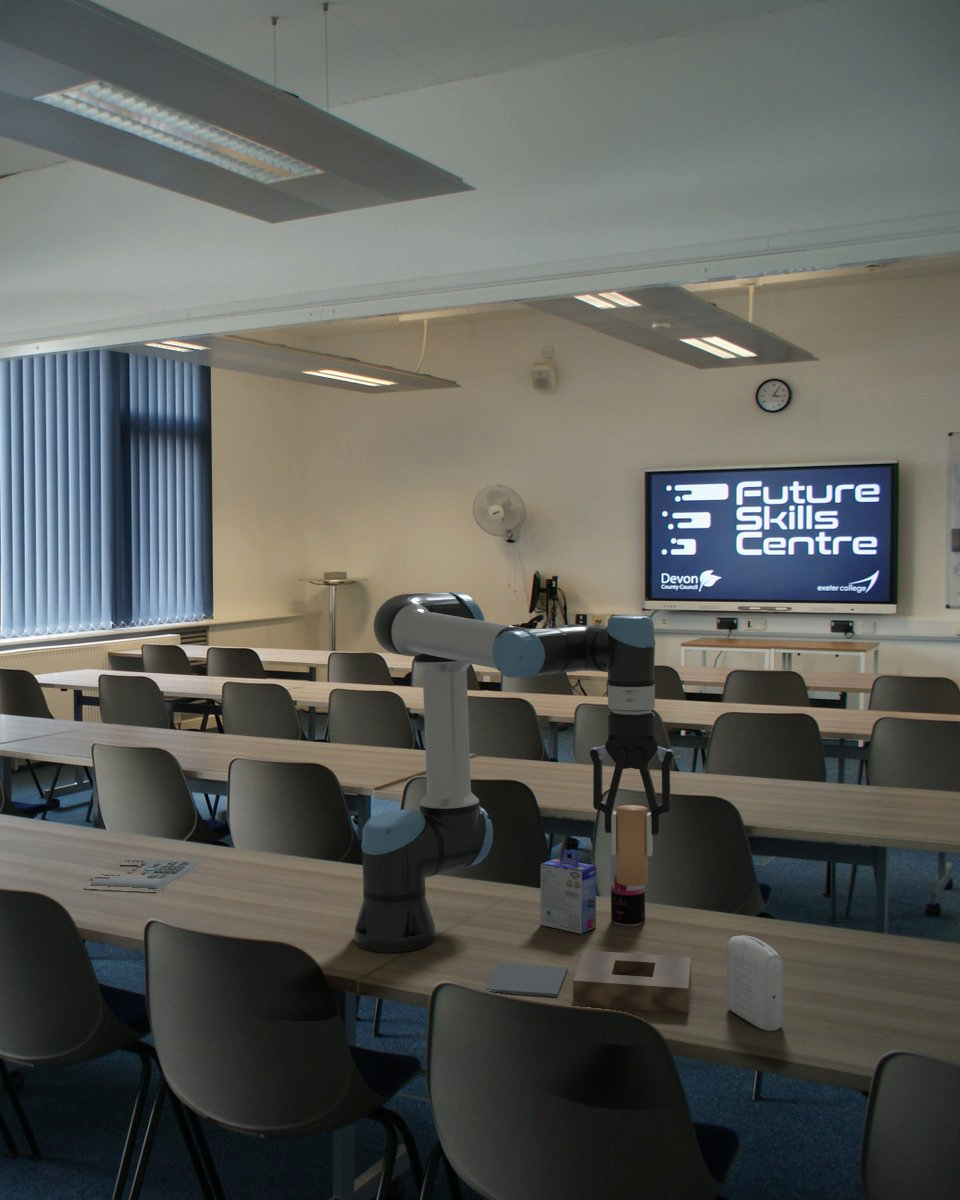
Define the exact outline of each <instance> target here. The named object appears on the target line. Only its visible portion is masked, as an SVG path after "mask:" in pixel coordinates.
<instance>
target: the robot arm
mask: <svg viewBox="0 0 960 1200" xmlns="http://www.w3.org/2000/svg"><path fill="white" fill-rule="evenodd" d="M654 625H655V624H654V621H653V619H652V618H651V617H649V616H647V615H637V614H636V615H631V614H630V615H623V614H622V615H613V616H610V617H609V618H608V620H607V626H596V625H583V624H579V623H577V624H565V625H561V626H559V627H548V628H528V627H527V628H526V627H520V626H513V625H510V624H502V623H496V622H491V621H486V620H485V617H484V614H483V611H482V609H481V606H480V605H479V604H478V603H476V600H475V599H474V598H473V597H471V595H468V594H466V593H463V592H454V591H453V592H451V591H445V592H444V591H443V592H429V593H428V592H426V593H425V592H424V593H402V594H398V595H395V596H393V597H391V598H389V599H386V601H385V602H383V603H382V604H381V605H380V607H379V608H378V609H377V611H376V614H375V616H374V620H373V632H374V636H375V638H376V641H377V642H378V643H379V645H380V646H381V647H382V648H383V649H384V650H386V651H387V652H388V653H391V654H394V655H400V656H406V657H413V659H414V661H413V662H414V664H415V665H416V666H417V667H418V668H420V670H421V672H422V684H423V685H422V687H423V688H422V689H423V691H422V693H423V713H424V715H423V718H424V719H423V720H424V741H425V743H424V745H425V747H424V748H425V768H426V769H425V770H426V771H425V772H426V773H425V774H426V794H425V795H424V796H423V798H422V799H421V800H420V801H419V810H416V809H410V808H409V809H407V808H403V809H398V810H395V809H393V810H388V811H384V812H381V813H378V814H376V815H374V816H372V817H370V818H368V819H367V821H365V823H364V825H363V828H362V838H361V839H362V840H361V847H360V848H361V850H362V889H363V891H362V893H363V895H362V896H363V897H362V899H363V900H362V904H361V906H360V910H359V913H358V915H357V920H356V923H355V926H354V942H355V944H356V946H358V947H360V948H361V949H364V950H367V951H372V952H376V953H377V952H378V953H403V952H409V951H410V952H411V951H416V950H419V949H423V948H425V947H427V946H430V945H431V944H432V943H434V941H435V940H436V924H435V921H434V918H433V916H432V912H431V909H430V908H429V907H430V906H429V904H428V900H427V898H426V879H427V878H430V877H435V876H437V875H442V874H446V873H451V872H455V871H462V870H466V869H468V868H469V867H472V866H473V867H474V866H476V865H478V864H479V863H482V862H483V860H484V859H485V858H486V857H487V856H488V854H489V853H490V850H491V849H492V844H493V837H494V835H493V833H494V830H493V824H492V821H491V819H489V814H488V813H487V811H486V810H485V809H484V808H483V807H481V806H480V799H479V798H478V797H477V796H476V795H475V794H474V793H473V792H472V783H471V781H472V780H471V757H470V755H471V753H470V752H471V751H470V730H469V729H470V727H469V702H468V701H469V699H468V675H467V674H468V673H467V672H468V671H467V670H468V669H469V667H470V666H472V665H477V666H481V667H486V668H491V669H496V670H497V671H499V672H500V674H501V675H502V676H504V677H506V678H512V679H513V678H517V679H519V678H520V679H527V678H530V677H536V676H544V675H554V674H562V673H563V674H564V673H574V672H584V671H585V672H587V671H590V672H603V673H607V708H608V709H609V710H610V712H608V714H607V730H608V731H607V740H606V742H605V744H604V745H601V746H593V747H592V748H591V749H590V751H589V755H590V758H591V761H592V764H593V771H592V772H593V773H592V774H593V776H592V777H593V778H592V779H593V783H592V785H593V786H592V788H593V790H592V791H593V792H592V793H593V797H592V801H593V802H592V804H593V805H592V806H593V808H594V810H596V811H597V810H599V811H602V812H603V814H604V831H605V833H606V834H607V833H608V834H611V847H612V855H616V854H617V814H616V810H614V806H615V802H616V798H617V795H618V791H619V786H620V783H621V778H622V775H623V771H624V769H625V770H627V769H631V768H632V769H634V770H639V773H640V776H641V779H642V780H641V781H642V784H643V788H644V792H645V794H646V798H647V803H648V805H649V806H648V807H649V810H650V811H649V812H648V811H647V856H648V857H652V856H653V835H654V836H658V835H659V832H660V815H661V814H663V813H668V812H669V811H670V809H671V762H672V759H673V758H674V757H673V756H674V750H673V749H672V748H668V749H667V748H664V747H662V746H659V744H658V741H657V740H656V723H655V722H656V715H655V713H654V712H653V711H652V710H654V709H655V708H656V701H655V700H656V699H655V697H656V689H655V688H656V684H655V655H656V654H655V653H656V652H655V650H656V647H655V646H656V639H655V638H656V637H655V627H654ZM606 753H607V754H608V755H609V756H610V757H611V759H612V760H613V762H614V764H615V766H614V770H613V774H612V779H611V782H610V786H609V790H608V793H607V796H606V797H607V798H606V802H605V801H604V800H603V760H604V759H605V757H606ZM656 754H657V755H658V760H659V762H661V803H659V802H658V798H657V794H656V791H655V787H654V782H653V779H652V775H651V771H650V767H649V763H650V761H651V760H652V759H653V757H654V756H655V755H656Z"/></svg>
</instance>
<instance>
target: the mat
mask: <svg viewBox="0 0 960 1200" xmlns="http://www.w3.org/2000/svg"><path fill="white" fill-rule="evenodd" d="M568 969H569V968H568V966H567V967H566V966H565V967H564V966H552V965H551V966H550V965H549V966H548V965H536V964H523V963H522V964H519V963H505V962H504V963H503V962H499V963H498V964H497V967H496V969H495V970H494V972H493V974H492V976H491V978H490V979H489V981H488V983H487V984H486V987H485V989H486V990H492V991H495V992H494V993H496V992H503V993H502V994H511V995H513V994H514V995H524V996H526V995H529V996H539V997H540V996H541V997H553V998H554V997H556V998H558V996H559V995H560V991H561V989H562V986H563V985H564V981H565V979H566V976H567V973H568V971H569V970H568ZM485 989H484V990H485Z"/></svg>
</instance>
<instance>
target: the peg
mask: <svg viewBox="0 0 960 1200" xmlns="http://www.w3.org/2000/svg"><path fill="white" fill-rule="evenodd" d="M615 809H616V810H615V811H616V814H617V883H619V884H621V885H626V886H641V885H645V886H646V885H647V884H648V882H649V879H648V877H649V874H648V873H649V871H648V869H649V865H648V863H649V861H648V860H649V859H648V857H649V856H647V813H648V807H646V806H643V805H636V804H635V805H634V804H632V805H631V804H628V805H627V804H626V805H619V806H617V807H616V808H615Z"/></svg>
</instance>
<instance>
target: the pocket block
mask: <svg viewBox="0 0 960 1200" xmlns="http://www.w3.org/2000/svg"><path fill="white" fill-rule="evenodd" d="M572 983H573V984H572V988H573V989H572V993H573V994H572V995H573V999H572V1000H573V1001H572V1004H573V1006H575V1005H580V1007H589V1006H592V1007H593V1008H603V1009H604V1008H606V1009H621V1010H633V1011H646V1012H647V1011H648V1012H658V1013H659V1012H660V1013H675V1014H678V1013H679V1014H686V1015H688V1014H689V1011H690V999H691V998H690V997H691V987H692V957H691V956H679V955H667V954H666V955H664V954H646V953H634V952H633V953H632V952H629V953H628V952H616V951H615V952H614V951H598V950H583V952H582V955H581V958H580V961H579V964H578V966H577V969H576V971H575V975H574V977H573V980H572ZM592 1007H591V1008H592Z"/></svg>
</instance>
